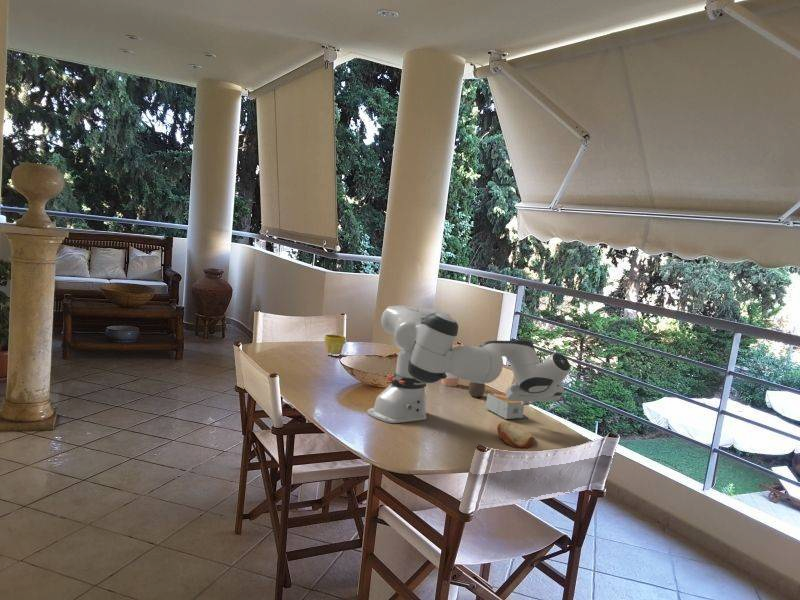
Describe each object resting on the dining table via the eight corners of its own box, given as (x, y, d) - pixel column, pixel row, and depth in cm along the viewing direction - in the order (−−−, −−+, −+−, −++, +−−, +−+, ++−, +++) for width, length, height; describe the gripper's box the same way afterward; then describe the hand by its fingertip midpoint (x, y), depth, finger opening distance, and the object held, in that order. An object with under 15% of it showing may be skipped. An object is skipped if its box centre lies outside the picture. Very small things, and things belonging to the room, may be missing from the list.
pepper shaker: (457, 383, 269) (462, 341, 267) (457, 387, 262) (462, 344, 259) (441, 381, 269) (446, 339, 267) (441, 385, 262) (446, 342, 260)
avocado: (479, 399, 245) (482, 379, 244) (464, 395, 249) (467, 375, 248) (486, 396, 251) (489, 376, 250) (471, 392, 255) (474, 373, 254)
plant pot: (335, 352, 305) (337, 333, 304) (347, 356, 298) (349, 337, 296) (319, 353, 298) (320, 334, 297) (331, 358, 291) (333, 338, 289)
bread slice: (502, 425, 216) (504, 415, 215) (547, 441, 204) (549, 430, 204) (475, 434, 202) (476, 424, 202) (521, 452, 191) (523, 440, 190)
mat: (528, 418, 226) (528, 417, 226) (501, 418, 223) (501, 417, 223) (512, 407, 239) (512, 406, 239) (486, 406, 237) (487, 405, 236)
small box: (508, 402, 220) (487, 392, 232) (506, 419, 221) (485, 408, 232) (525, 401, 224) (503, 392, 235) (522, 418, 225) (501, 407, 236)
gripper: (516, 391, 204) (500, 410, 214) (568, 393, 209) (551, 411, 220) (512, 375, 208) (497, 395, 218) (563, 378, 213) (546, 396, 224)
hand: (524, 403), depth 219 cm, fingers closed
